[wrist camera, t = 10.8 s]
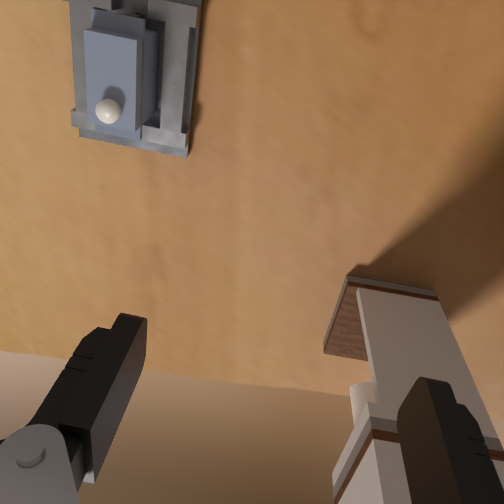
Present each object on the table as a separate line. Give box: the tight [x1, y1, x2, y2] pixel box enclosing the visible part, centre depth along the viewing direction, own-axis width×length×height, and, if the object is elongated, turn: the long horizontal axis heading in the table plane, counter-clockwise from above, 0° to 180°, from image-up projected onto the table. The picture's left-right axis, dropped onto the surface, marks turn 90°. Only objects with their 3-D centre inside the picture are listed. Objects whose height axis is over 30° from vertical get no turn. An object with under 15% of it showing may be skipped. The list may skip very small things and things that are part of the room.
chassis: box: [63, 0, 203, 158], centre depth 38 cm, size 15×11×2 cm
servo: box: [84, 9, 159, 141], centre depth 35 cm, size 10×4×7 cm, turn 170°
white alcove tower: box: [323, 275, 504, 504], centre depth 38 cm, size 11×11×35 cm
